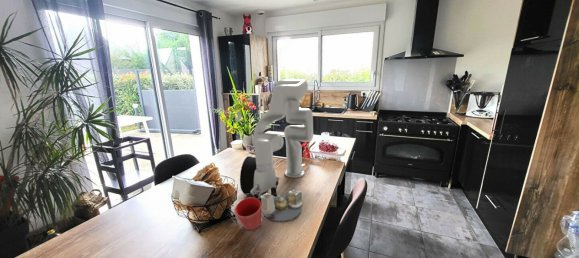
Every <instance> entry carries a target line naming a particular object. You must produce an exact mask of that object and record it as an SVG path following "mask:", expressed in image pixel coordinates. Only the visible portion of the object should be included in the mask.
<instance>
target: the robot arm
mask: <svg viewBox="0 0 579 258" xmlns="http://www.w3.org/2000/svg"><path fill="white" fill-rule="evenodd" d="M308 89H309V87H308V82H307V81H306V80H305V79H279V80H278V81H276V84H275V87H274V88H273V90H272V94H271V98H270V103H269V108H268V111H267V112H266V114H264V115H263V116H262V117H261V118H260V119H259V121H258V122H257V123H256V125H255V128H254V131H253V136H252V145H253V147H254V149H255V150H254V153H255V157H256V170H255V174H254V187H253V189H252V190H251V191H250V193H251V196H252V197H254V198H257V199H258V200H259V201H260V202H261V198H260V197H261V196H262V193H264V192H266V191H267V190H268V191H269V190H270V194H271V195H273V196H274V198H275V197H278V196H277V189H278V186H279V181H280V177H279V176H276V171H275V166H274V162H275V161H274V156H273V155H274V152H277V151H279V150H280V149H282V148H283V147H284V144H285V148H286V149H285V151H286V155H285V156H286V169H285V171H284V175H285V176H286V177H288V178H290V179H291V178H294V179H296V178H298V179H299V178H301V177H302V176H305V170H304V168H305V167H306V163H303V162H302V161H303V157H302V156H303V155H302V153H303V152H302V150H303V149H302V145H301V143H300V142H303V143H305V142H306V143H307V142H308V143H309V142H312V140H313V138H314V116H313V111H312V110H311V109H310V108H307V107H301V106H300V101H301V100H302V99H303V98H304V97H305V96H306V95H307V93H308ZM282 119H285V121H286V122H287V123H288V124H290V125H287V126H285V128H284V133H283V134H284V138H283V136H282V135H281V134H278V133H267V132H266V133H265V129H266V128H267V127H268V126H269V125H270V124H273V123H275V122H277V121H280V120H282ZM284 139H285V141H284ZM284 142H285V143H284ZM255 191H256V192H255ZM268 191H267V192H268ZM258 192H260V193H259V194H258ZM250 193H249V194H250ZM261 206H262V202H261Z"/></svg>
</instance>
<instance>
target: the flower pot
mask: <svg viewBox="0 0 579 258" xmlns="http://www.w3.org/2000/svg"><path fill="white" fill-rule="evenodd" d="M234 213H235V216H236V217H237V219H238V220H239V222H240V223H241V224H242V226H243V227H244V228H245V230H247V231H253V230H257V229H258V228H259V227H260V226H261V225H262V223H263V215H262V210H261V202H260V201H259V200H258V199H257V198H255V197H254V196H252V197H251V196H250V197H246V198H243V199H242V200H240V201H238V202H237V204H236V205H235V207H234Z"/></svg>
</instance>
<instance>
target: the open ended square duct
mask: <svg viewBox="0 0 579 258" xmlns="http://www.w3.org/2000/svg"><path fill="white" fill-rule="evenodd" d="M260 198H261V202H262V206H261V210H262V213H263V214H271V213H273V212H274V211H275V204H274V198H275V197H274V196H273V195H271V193H269V192H267V193H266V194H264V195H261V197H260Z"/></svg>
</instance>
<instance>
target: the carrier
mask: <svg viewBox="0 0 579 258" xmlns="http://www.w3.org/2000/svg"><path fill="white" fill-rule="evenodd" d="M302 194H303V191H302V190H299V189H297V188H293V189H292V190H290V191H288V196H281V195H280V196H277V197H274V204H275V211H274V212H273V213H271V214H263V213H262V217H264V218H265V219H266V220H267V221H269V222H273V223H287V222H291V221H293V220H296V219H297V218H298V217H299V216H300V215H301V214H302V210H303V209H302V208H303V204H304V203H303V199H302V198H303V195H302Z"/></svg>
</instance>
